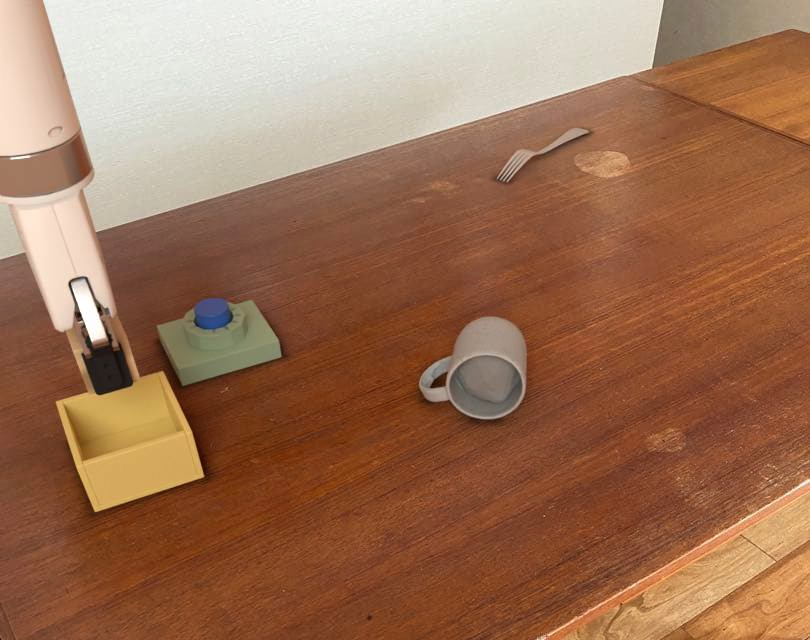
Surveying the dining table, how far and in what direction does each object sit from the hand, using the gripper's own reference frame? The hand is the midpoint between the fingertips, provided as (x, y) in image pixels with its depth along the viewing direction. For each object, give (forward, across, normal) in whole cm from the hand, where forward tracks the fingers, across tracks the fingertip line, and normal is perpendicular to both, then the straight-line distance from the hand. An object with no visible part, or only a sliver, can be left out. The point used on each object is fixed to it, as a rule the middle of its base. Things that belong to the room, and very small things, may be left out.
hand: (107, 371), depth 75 cm
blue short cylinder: (+7, -14, +12) cm, 20 cm away
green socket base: (+10, -14, +12) cm, 22 cm away
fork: (+11, -39, +69) cm, 80 cm away
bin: (+11, 0, 0) cm, 11 cm away
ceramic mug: (+11, +6, +33) cm, 35 cm away
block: (0, 0, 0) cm, 0 cm away
